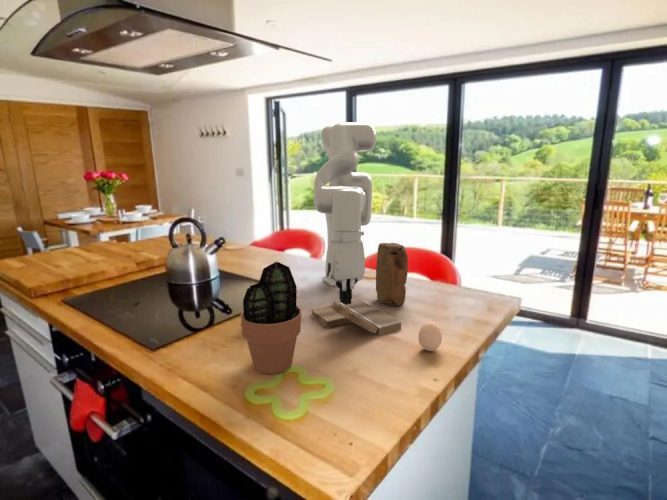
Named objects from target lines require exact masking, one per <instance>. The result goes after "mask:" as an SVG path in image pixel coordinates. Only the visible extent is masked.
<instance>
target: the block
mask: <svg viewBox="0 0 667 500" xmlns="http://www.w3.org/2000/svg"><path fill="white" fill-rule="evenodd" d="M375 270H376V271H375V291H376V297H377V298H376V299H377V300H378V301H380V302H381V303H382V304H386V305H388V306H391V307H400V306H402V305H404V304H405V301H406V293H407V292H406V289H407V287H406V283H407V279H408V270H409V259H408V253H407V251H406V248H405V246H404V245H403V244H400V243H396V242H380V243H379V244H378V247H377V253H376V268H375Z"/></svg>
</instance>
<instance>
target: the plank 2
mask: <svg viewBox="0 0 667 500" xmlns="http://www.w3.org/2000/svg"><path fill="white" fill-rule="evenodd" d="M339 304H340V303H337V302H335V301H333V302H332V304H331V305H330V306H331V308H332V309H333V310H335V311H336V312H338V313H339V314H341V315H342V316H344V317H345V318H347V319H348V320H350V321H352V322H351V323H353V324H355V325H357V326H359V327H360V328H363V329H365V330H367V331H368V332H370V333H373V335H376V331H377V329H378V327H376V326H374V325H373V324H371V323H369V322H368V321H366V320H365V319H363V318H361V317H360V316H358V315H356V314H355V313H353V312H351V311H349V310H347V309H346V308H344V307H342V306H340V305H339Z"/></svg>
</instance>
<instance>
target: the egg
mask: <svg viewBox="0 0 667 500" xmlns="http://www.w3.org/2000/svg"><path fill="white" fill-rule="evenodd" d="M417 338H418V343H419V345H420V347H422V349H423V350H425V351H427V352H433V351H436V350H437V349H438V348H439V347H440V345H441V344H442V339H443V333H442V332H441V328H440V327H439V325H438V324H437V323H436V322H434V321H426V322H424V323H423V324H422V325H421V327H420V328H419V331H418V337H417Z"/></svg>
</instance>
